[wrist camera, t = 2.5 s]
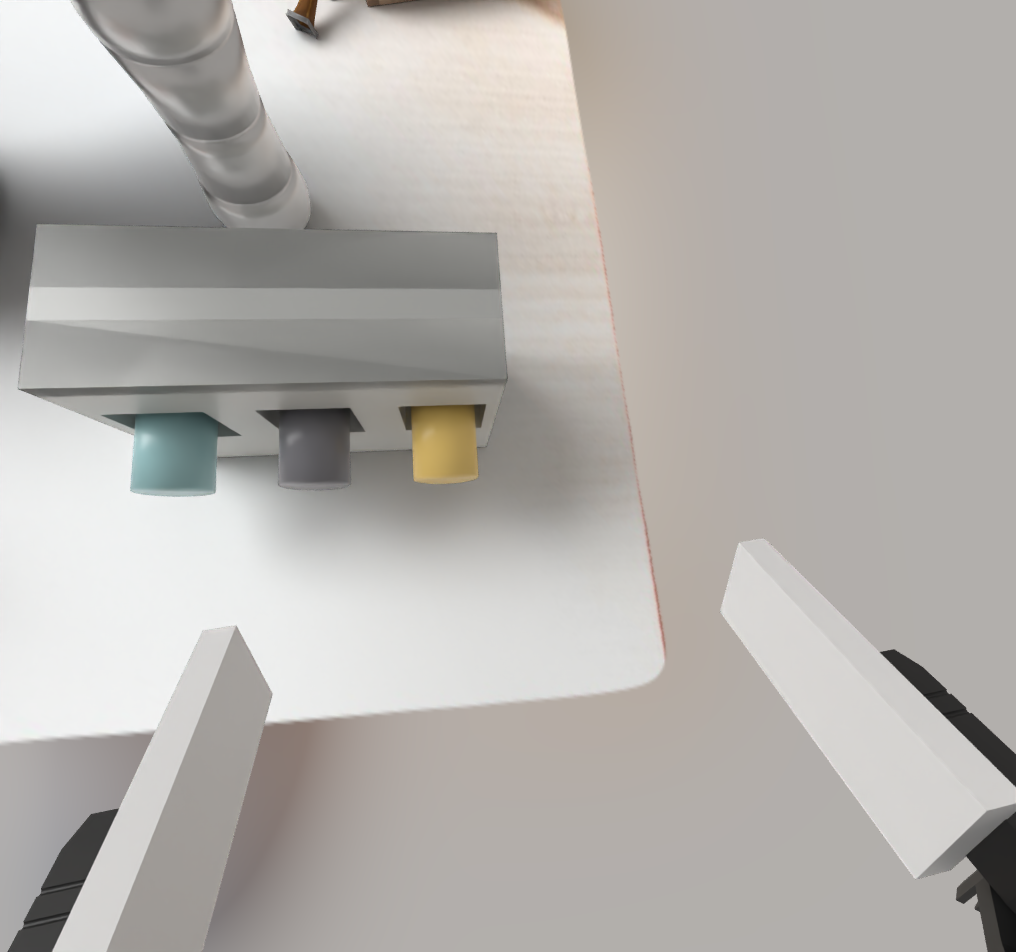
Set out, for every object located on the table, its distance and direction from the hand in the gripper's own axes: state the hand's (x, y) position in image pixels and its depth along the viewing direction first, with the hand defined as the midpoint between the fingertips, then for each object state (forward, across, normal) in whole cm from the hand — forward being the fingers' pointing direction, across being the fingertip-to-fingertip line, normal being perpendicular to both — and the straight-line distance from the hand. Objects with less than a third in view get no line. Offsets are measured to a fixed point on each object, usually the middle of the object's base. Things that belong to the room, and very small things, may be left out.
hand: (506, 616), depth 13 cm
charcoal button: (+17, -8, -3) cm, 19 cm away
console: (+24, -8, -3) cm, 25 cm away
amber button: (+17, -1, -3) cm, 17 cm away
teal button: (+17, -15, -2) cm, 23 cm away
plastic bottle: (+34, -12, +8) cm, 37 cm away
